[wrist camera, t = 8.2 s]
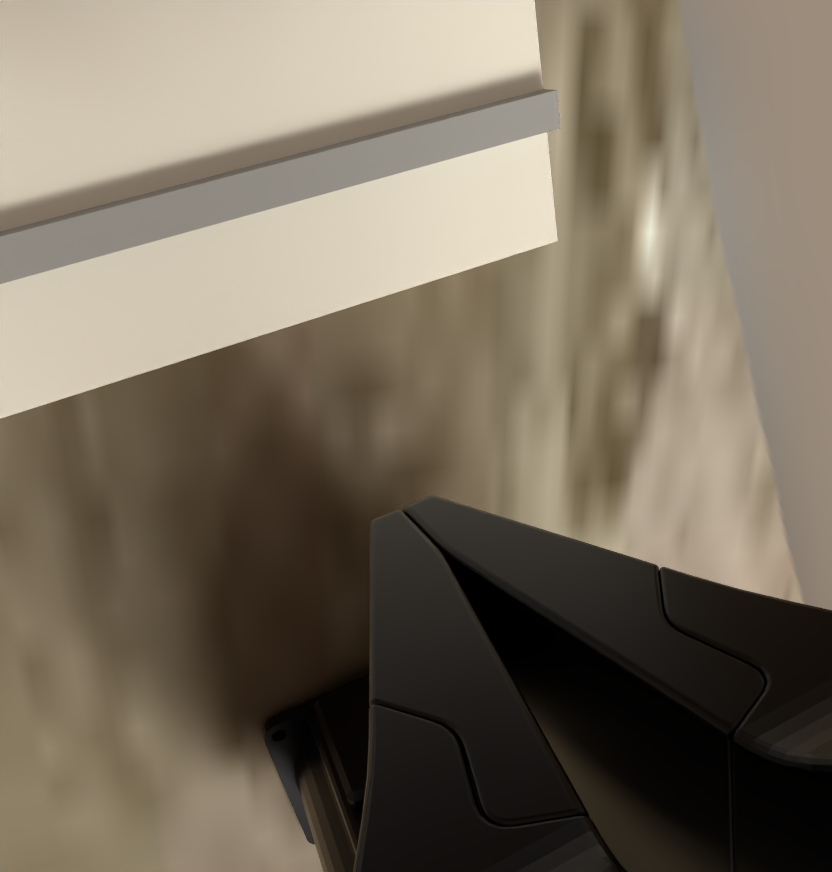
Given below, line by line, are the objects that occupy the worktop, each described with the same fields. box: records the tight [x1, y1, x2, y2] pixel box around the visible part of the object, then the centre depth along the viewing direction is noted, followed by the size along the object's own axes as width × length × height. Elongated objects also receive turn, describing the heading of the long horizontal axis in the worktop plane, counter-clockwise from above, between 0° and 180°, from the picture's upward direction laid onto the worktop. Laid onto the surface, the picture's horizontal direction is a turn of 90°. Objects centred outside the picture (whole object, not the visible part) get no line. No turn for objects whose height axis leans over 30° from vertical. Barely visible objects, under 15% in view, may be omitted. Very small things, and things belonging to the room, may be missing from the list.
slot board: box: [0, 0, 560, 419], centre depth 15 cm, size 12×19×4 cm, turn 101°
